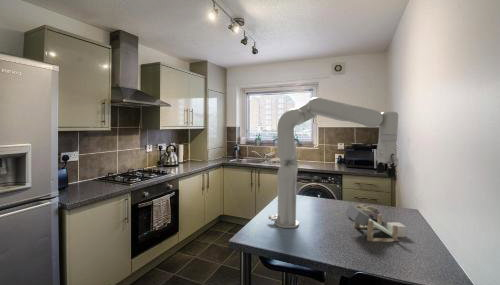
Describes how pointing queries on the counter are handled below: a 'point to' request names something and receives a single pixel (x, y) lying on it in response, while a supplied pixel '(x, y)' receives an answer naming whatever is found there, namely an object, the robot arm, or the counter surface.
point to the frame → (371, 227)
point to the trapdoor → (363, 218)
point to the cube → (400, 228)
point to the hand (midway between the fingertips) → (385, 174)
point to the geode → (368, 210)
